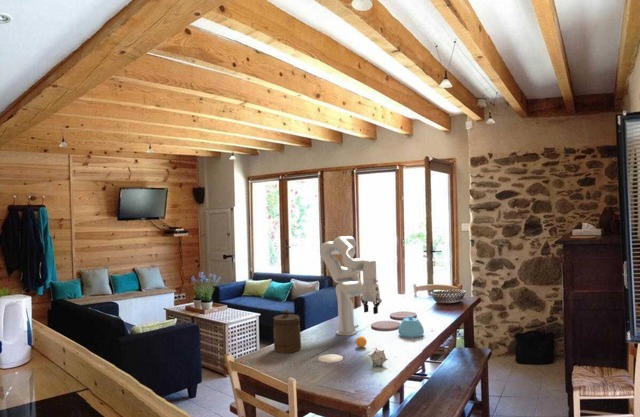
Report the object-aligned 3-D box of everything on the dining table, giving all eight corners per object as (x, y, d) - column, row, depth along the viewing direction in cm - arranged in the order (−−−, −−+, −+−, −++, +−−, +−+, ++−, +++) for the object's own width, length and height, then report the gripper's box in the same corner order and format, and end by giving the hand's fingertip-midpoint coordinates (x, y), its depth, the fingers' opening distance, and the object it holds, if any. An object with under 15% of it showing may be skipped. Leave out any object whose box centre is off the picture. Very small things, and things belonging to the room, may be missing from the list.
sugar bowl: (424, 339, 281) (423, 319, 280) (398, 338, 284) (397, 319, 283) (423, 332, 295) (423, 313, 295) (399, 331, 298) (398, 313, 298)
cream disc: (330, 353, 260) (329, 352, 260) (348, 358, 251) (348, 357, 251) (312, 359, 251) (312, 358, 251) (331, 364, 242) (331, 364, 242)
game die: (378, 374, 236) (369, 361, 231) (371, 363, 243) (363, 350, 239) (393, 364, 236) (385, 351, 232) (386, 353, 244) (378, 340, 239)
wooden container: (287, 344, 280) (285, 306, 280) (306, 348, 271) (305, 309, 271) (268, 350, 269) (267, 311, 269) (288, 355, 259) (286, 314, 259)
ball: (360, 345, 273) (360, 334, 273) (368, 347, 269) (368, 336, 269) (353, 347, 269) (353, 336, 269) (362, 349, 264) (361, 338, 264)
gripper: (386, 281, 272) (387, 313, 272) (362, 279, 284) (363, 309, 284) (377, 283, 266) (379, 316, 267) (354, 280, 279) (355, 312, 279)
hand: (370, 312), depth 275 cm, fingers open, 6 cm apart
